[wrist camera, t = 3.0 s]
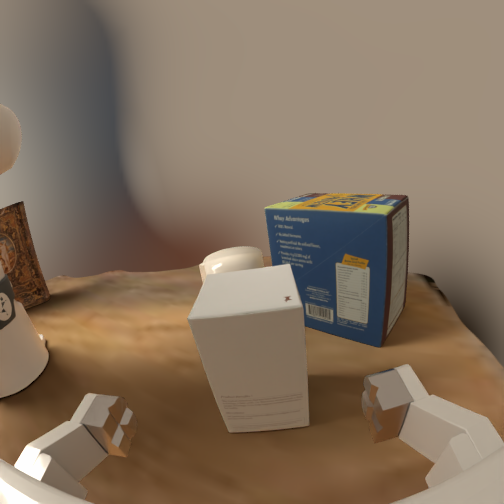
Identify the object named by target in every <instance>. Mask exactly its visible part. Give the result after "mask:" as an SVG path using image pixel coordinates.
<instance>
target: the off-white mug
mask: <svg viewBox="0 0 504 504" xmlns="http://www.w3.org/2000/svg"><path fill="white" fill-rule="evenodd" d="M199 267H200V272H201V276H202V281H203V283H204V281H205V279H206V276H207V275H208V274H217V273H225V272H233V271H241V270H249V269H256V268H264V264H263V257H262V251H261V250H260V249H258V248H255V247H233V248H228V249H224V250H220V251H217V252H215V253H212V254H210V255H209V256H207V257H206V258H205V259H204V262H203V263H202V264H200V265H199Z"/></svg>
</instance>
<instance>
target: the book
mask: <svg viewBox="0 0 504 504" xmlns="http://www.w3.org/2000/svg"><path fill="white" fill-rule="evenodd" d="M0 261H1V265H2V268H3V271H4V274H7V276H8V278H9V281H10V282H11V284H12V288H13V291H14V294H15V297H14V299H15V300H16V301H17V302H20V303H21V304H22V305H23V307H24V309H28V308H30V307H33V306H35V305H38V304H41V303H43V302H46V301H48V300H49V299H50V294H49V291H48V288H47V286H46V283H45V280H44V277H43V274H42V271H41V268H40V265H39V262H38V259H37V255H36V252H35V249H34V245H33V241H32V238H31V234H30V230H29V226H28V222H27V217H26V213H25V208H24V203H23V201H22V202H18V203H15V204H13V205H10V206H7V207H5V208H2V209H0Z"/></svg>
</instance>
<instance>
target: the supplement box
mask: <svg viewBox="0 0 504 504" xmlns="http://www.w3.org/2000/svg"><path fill="white" fill-rule="evenodd" d="M187 319H188V322H189V325H190V328H191V330H192V333H193V336H194V339H195V342H196V345H197V348H198V351H199V354H200V357H201V360H202V363H203V366H204V369H205V372H206V375H207V378H208V381H209V384H210V386H211V389H212V392H213V394H214V397H215V400H216V403H217V405H218V408H219V410H220V413H221V415H222V417H223V420H224V422H225V425H226V427H227V429H228V432H229V433H234V432H253V431H267V430H278V429H288V428H296V427H304V426H309V400H308V375H307V357H306V340H305V325H304V310H303V305H302V302H301V298H300V295H299V292H298V289H297V286H296V283H295V279H294V276H293V273H292V270H291V266H290V264H284V265H278V266H271V267H264V268H256V269H249V270H241V271H233V272H225V273H217V274H208V275H207V276H206V279H205V281H204V283H203V286H202V288H201V290H200V293H199V295H198V297H197V300H196V302H195V304H194V306H193V308H192V310H191V312H190V314H189V316H188V318H187Z"/></svg>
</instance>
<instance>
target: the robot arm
mask: <svg viewBox="0 0 504 504" xmlns="http://www.w3.org/2000/svg"><path fill="white" fill-rule="evenodd" d="M21 141H22V132H21V126H20V123H19V120H18V118H17V117H16V115H15V114H14V113H13V111H12V110H10V109H9V108H7V107H5V106H3V105H2V104H0V175H1V174H2V173H4V172H6V171H7V170H9V169H11V168H12V166H13V165H14V163H15V161H16V159H17V157H18V155H19V152H20V148H21ZM14 297H15V294H14V291H13V288H12V284H11V282H10V281H9V278H8V276H7V274H4V271H3V268H2V265H1V261H0V398H2V397H5V396H8V395H11V394H14V393H16V392H18V391H20V390H22V389H24V388H25V387H26V386H28V385H29V384H30V383H32V382H33V381H34V380H35V379H36V378H37V377H38V376H39V375H40V374H41V372H42V371H43V369H44V368H45V366H46V364H47V362H48V358H49V354H48V351H47V349H46V348H45V342H46V340H45V338H44V336H43V335H42V334H40V335H39V334H38V333H37V331H36V329H35V327H34V326H33V324H32V322H31V320H30V318H29V316H28V315H27V313H26V311H25V309H24V307H23V305H22V304H21V303H20V302H17V301H16V300H15V299H14ZM363 385H364V387H365V391H364V392H363V393H362V409H363V413H364V416H365V419H367V420H368V421H370V426H369V430H370V433H371V436H372V439H373V441H374V443H378V442H382V441H385V440H389V439H392V438H395V437H398V438H399V439H401V440H402V441H404V442H405V443H406V444H408V445H409V446H411V447H412V448H413V449H415V450H416V451H418V452H419V453H421V454H422V455H423V456H425V457H426V458H428V459H429V460H431V461H432V462H434V463H435V464H434V466H433V467H432V469H431V470H430V471H429V473H428V474H427V476H426V477H425V479H426V482H427V485H428V487H429V488H428V489H426V490H424V491H422V492H419V493H417V494H414V495H412V496H409V497H407V498H404V499H401V500H399V501H396V502H393V503H390V504H504V442H503V440H502V439H501V437H500V436H499V434H498V433H497V431H496V429H495V428H494V426H493V425H492V423H491V422H490V420H489V419H488V418H487V417H485V416H482V415H480V414H477V413H475V412H473V411H470V410H468V409H465V408H463V407H461V406H458V405H456V404H454V403H451V402H449V401H447V400H445V399H442V398H440V397H438V396H436V395H430V396H429V394H428V393H427V391H426V390H425V388H424V386H423V385H422V383H421V382H420V380H419V379H418V377H417V375H416V374H415V372H414V371H413V369H412V368H411V366H410V365H408V364H406V365H403V366H399V367H396V368H394V369H389V370H386V371H382V372H379V373H375V374H371V375H367V376H365V378H364V383H363ZM127 406H128V403H127V402H126V400H125V399H124V398H123V397H117V396H109V395H101V394H93V393H88V394H87V395H85V397H84V399H83V400H82V402H81V403H80V405H79V407H78V408H77V410H76V412H75V413H74V415H73V417H72V418H71V420H70V421H66V422H64V423H63V424H61V425H59V426H58V427H56V428H54V429H53V430H51V431H49V432H48V433H46V434H44V435H43V436H41V437H39V438H38V439H36V440H34V441H33V442H31V443H29V444H27V445H26V447H25V449H24V450H23V452H22V454H21V455H20V457H19V459H18V461H17V462H16V464H15V466H12V465H10V464H9V463H7V462H5V461H4V460H2V459H1V458H0V504H94V503H91V502H88V501H86V500H85V498H86V495H87V492H88V491H87V489H86V488H85V487H84V486H82V485H81V484H80V483H79V481H80V480H82V479H83V478H84V477H85V476H86V475H87V474H88V473H89V472H91V471H92V470H93V469H94V468H95V467H96V466H97V465H98V464H99V463H100V462H102V461H103V460H104V459H105V458H106V457H107V456H108V454H110V455H116V456H122V457H127V456H128V453H129V450H130V448H131V445H132V443H131V440H130V439H131V438H132V437H133V436H134V435H135V434H136V431H137V419H136V416H135V414H134V413H133V412H132V411H131V410H130V409H128V408H127Z"/></svg>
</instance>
